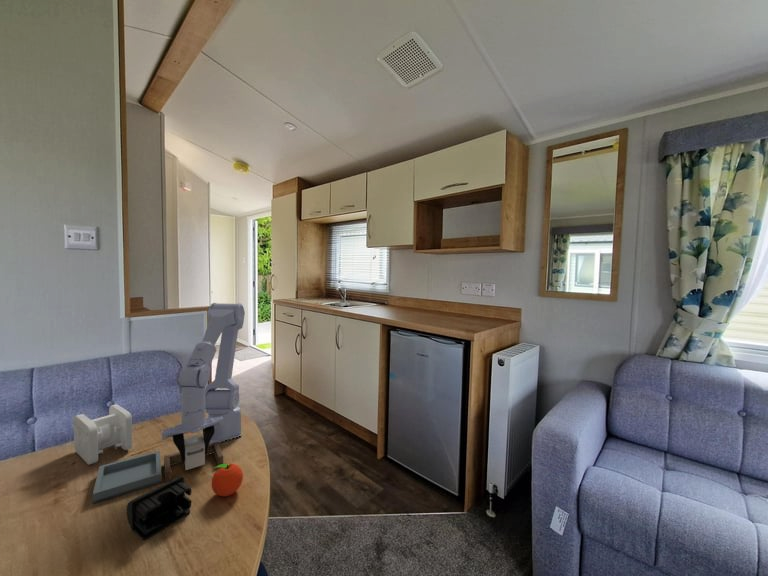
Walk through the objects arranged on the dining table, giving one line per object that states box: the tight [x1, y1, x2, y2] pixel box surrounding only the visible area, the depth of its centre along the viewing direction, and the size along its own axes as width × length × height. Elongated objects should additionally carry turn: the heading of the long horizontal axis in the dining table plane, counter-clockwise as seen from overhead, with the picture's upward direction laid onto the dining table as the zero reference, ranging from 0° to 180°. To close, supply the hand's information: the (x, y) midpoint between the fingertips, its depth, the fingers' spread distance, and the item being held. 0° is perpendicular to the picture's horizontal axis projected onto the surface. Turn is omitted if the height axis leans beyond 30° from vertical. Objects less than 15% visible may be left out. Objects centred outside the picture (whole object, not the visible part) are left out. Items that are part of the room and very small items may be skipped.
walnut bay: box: [163, 442, 224, 484], centre depth 88 cm, size 13×9×2 cm
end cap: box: [126, 476, 193, 541], centre depth 69 cm, size 10×7×7 cm
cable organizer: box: [72, 403, 133, 465], centre depth 93 cm, size 15×11×12 cm
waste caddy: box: [183, 433, 206, 471], centre depth 87 cm, size 4×7×6 cm, turn 37°
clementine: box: [211, 463, 244, 497], centre depth 77 cm, size 8×7×7 cm
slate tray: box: [92, 450, 162, 505], centre depth 82 cm, size 13×13×2 cm
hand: (194, 456), depth 88 cm, fingers closed on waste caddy, 4 cm apart
